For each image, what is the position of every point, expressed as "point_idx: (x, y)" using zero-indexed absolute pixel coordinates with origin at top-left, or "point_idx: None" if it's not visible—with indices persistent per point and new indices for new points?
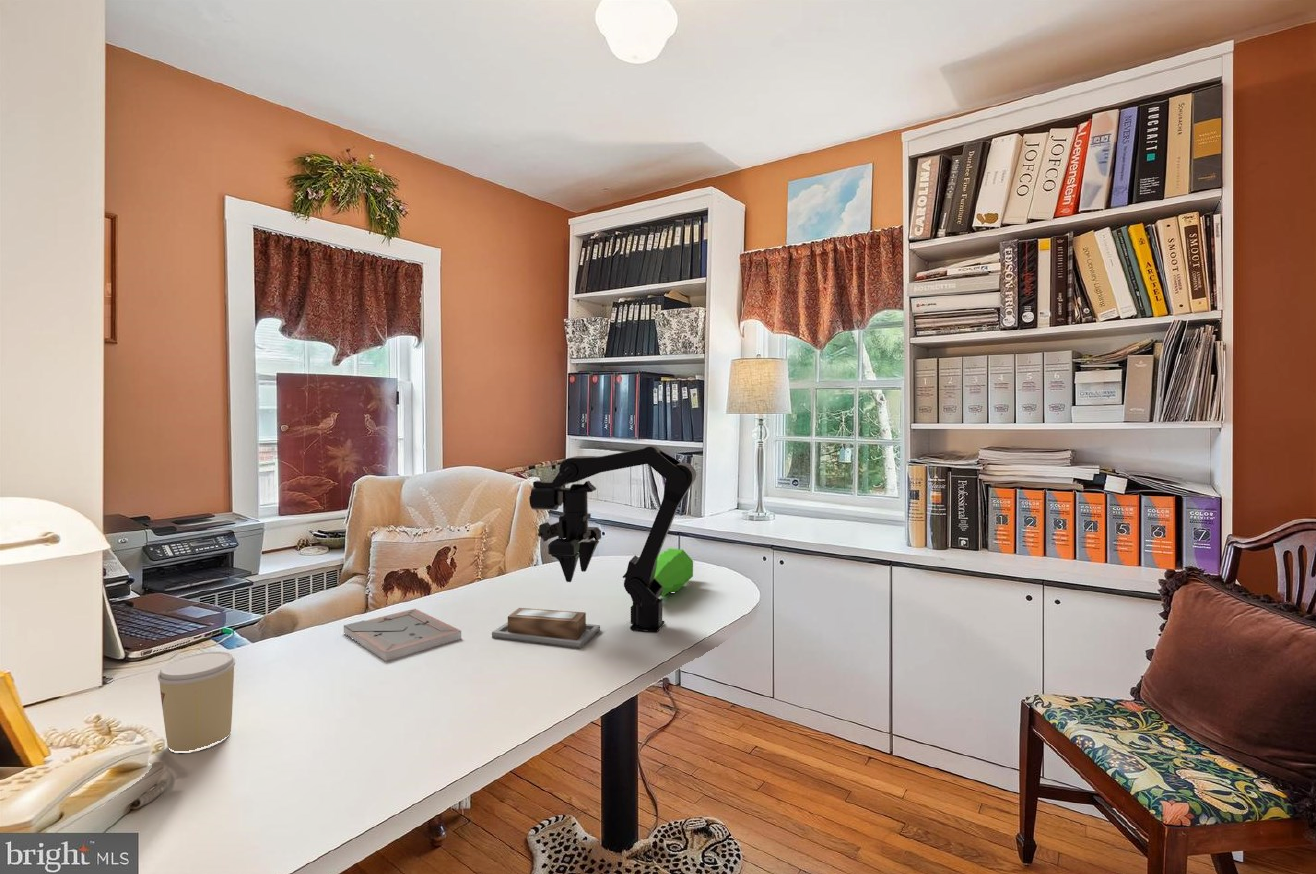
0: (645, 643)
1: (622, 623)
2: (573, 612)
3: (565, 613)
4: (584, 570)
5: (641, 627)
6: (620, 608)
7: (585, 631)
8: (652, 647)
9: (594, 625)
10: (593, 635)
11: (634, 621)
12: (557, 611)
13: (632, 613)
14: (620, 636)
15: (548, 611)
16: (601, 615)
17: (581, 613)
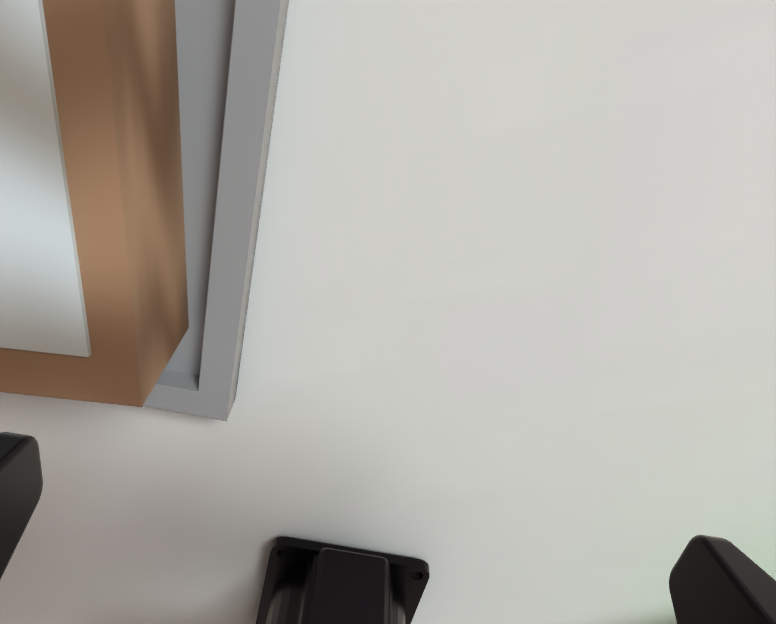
0: (115, 595)
1: (381, 492)
2: (109, 314)
3: (36, 255)
4: (678, 586)
5: (274, 591)
6: (669, 459)
7: None
8: (78, 618)
9: (213, 390)
10: None
11: (306, 580)
12: (84, 156)
13: (308, 614)
14: (173, 500)
15: (28, 54)
16: (531, 369)
17: (103, 381)
